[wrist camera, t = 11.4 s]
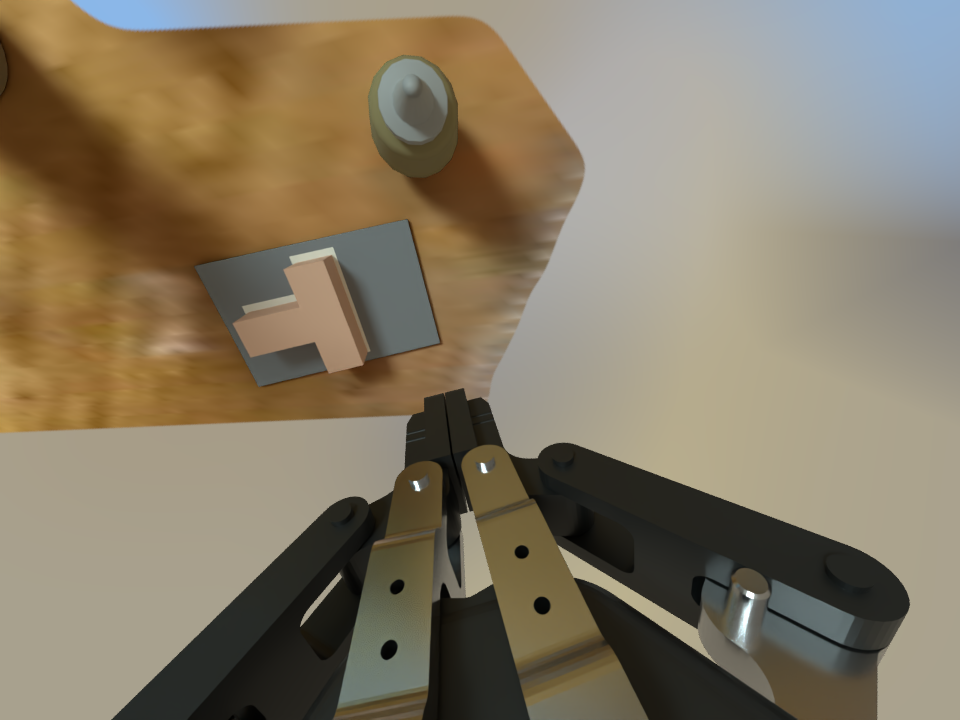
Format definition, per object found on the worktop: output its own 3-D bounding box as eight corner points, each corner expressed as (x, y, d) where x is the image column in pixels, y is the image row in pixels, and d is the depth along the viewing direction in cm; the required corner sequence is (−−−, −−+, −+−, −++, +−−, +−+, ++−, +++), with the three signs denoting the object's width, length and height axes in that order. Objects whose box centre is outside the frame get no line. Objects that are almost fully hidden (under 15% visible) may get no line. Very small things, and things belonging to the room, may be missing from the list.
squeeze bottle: (357, 119, 35) (305, 51, 19) (425, 68, 35) (430, -46, 18) (407, 195, 39) (398, 193, 23) (469, 151, 38) (506, 116, 22)
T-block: (231, 277, 39) (212, 285, 35) (331, 254, 40) (323, 260, 36) (279, 373, 44) (267, 388, 41) (367, 351, 45) (363, 365, 41)
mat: (196, 265, 38) (193, 266, 38) (407, 219, 40) (407, 219, 39) (260, 384, 45) (258, 386, 44) (439, 341, 46) (440, 342, 46)
